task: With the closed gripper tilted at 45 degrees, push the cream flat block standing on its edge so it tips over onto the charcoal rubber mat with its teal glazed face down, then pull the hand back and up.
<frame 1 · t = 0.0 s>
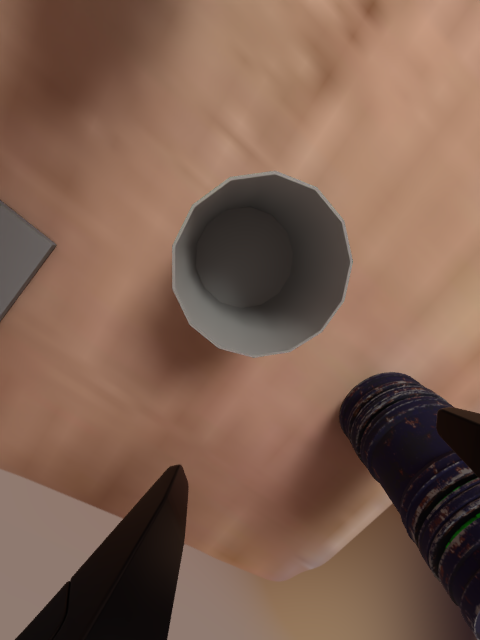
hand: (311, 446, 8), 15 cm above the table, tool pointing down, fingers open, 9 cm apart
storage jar: (380, 409, 27), on the table
cup: (244, 259, 21), on the table
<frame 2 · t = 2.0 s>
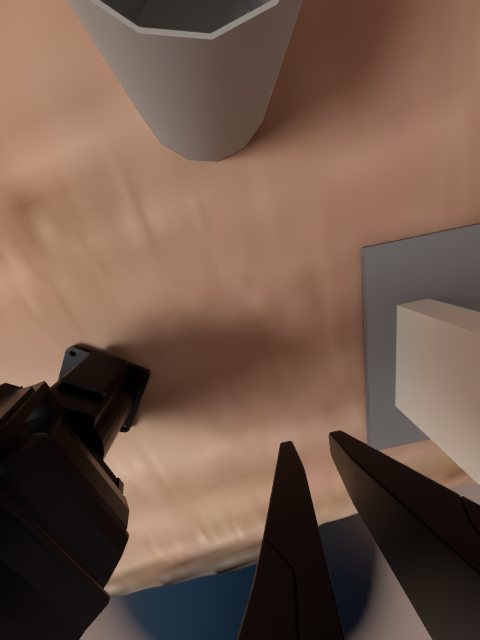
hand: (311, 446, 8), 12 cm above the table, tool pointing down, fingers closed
cream flat block: (412, 355, 21), resting on mat
mat: (473, 339, 21), on the table
cup: (202, 84, 15), on the table
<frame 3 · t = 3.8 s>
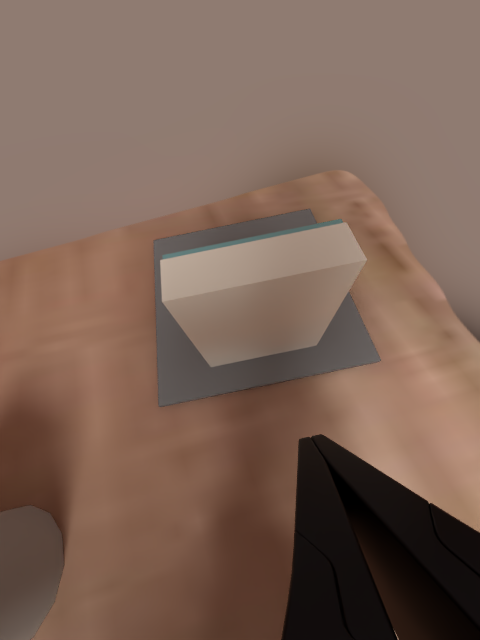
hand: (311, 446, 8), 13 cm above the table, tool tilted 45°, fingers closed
cream flat block: (260, 341, 23), resting on mat
mat: (248, 292, 26), on the table
cup: (8, 576, 17), on the table
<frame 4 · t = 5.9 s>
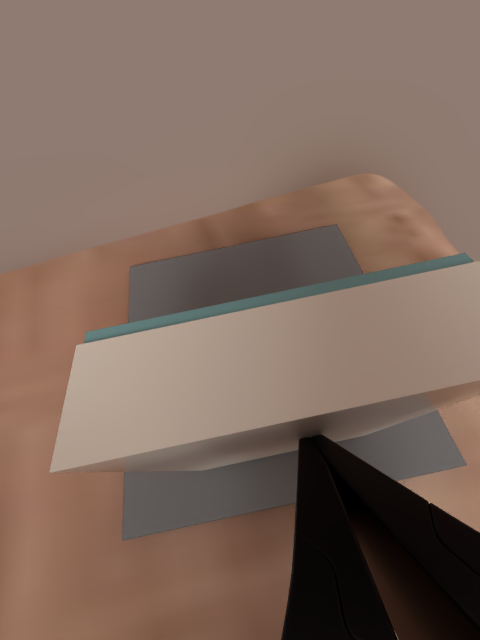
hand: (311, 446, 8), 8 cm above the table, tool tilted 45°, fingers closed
cream flat block: (277, 426, 15), point 1 cm above the table, tilted 5°, touching mat
mat: (257, 344, 19), on the table
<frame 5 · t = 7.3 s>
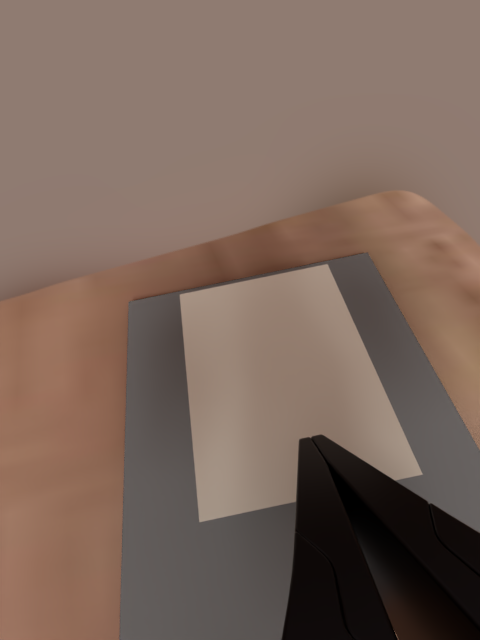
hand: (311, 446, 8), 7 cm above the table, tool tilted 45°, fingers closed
cream flat block: (305, 491, 12), point 2 cm above the table, tilted 90°, touching mat
mat: (279, 403, 16), on the table
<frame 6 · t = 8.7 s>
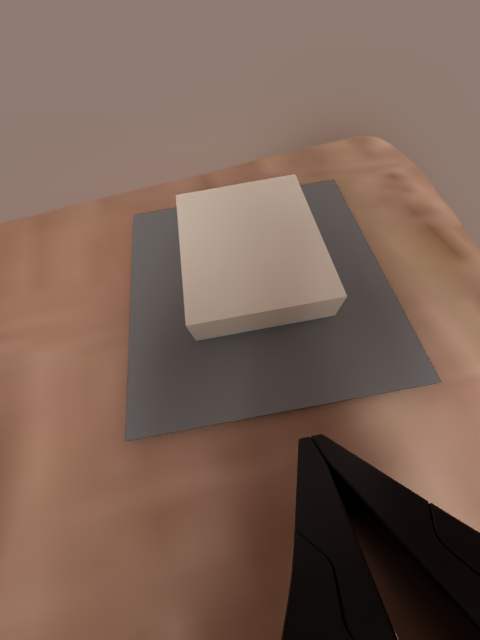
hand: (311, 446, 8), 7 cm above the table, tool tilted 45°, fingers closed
cream flat block: (266, 321, 16), point 2 cm above the table, tilted 90°, touching mat
mat: (253, 283, 20), on the table
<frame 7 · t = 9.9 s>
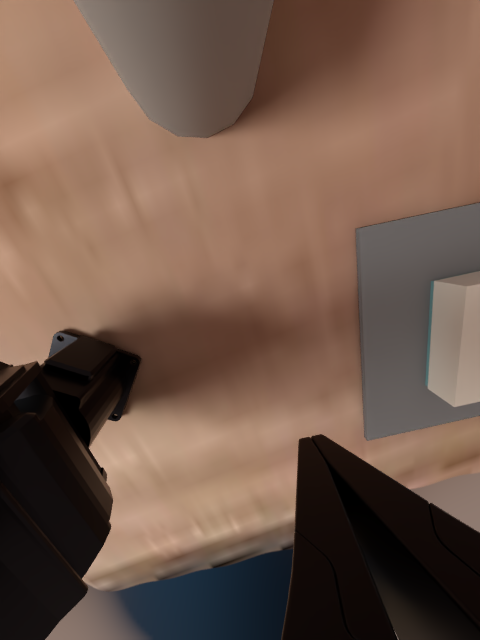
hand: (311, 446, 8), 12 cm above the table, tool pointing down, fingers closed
cream flat block: (442, 344, 19), point 2 cm above the table, tilted 90°, touching mat
mat: (471, 324, 21), on the table
cup: (190, 56, 14), on the table
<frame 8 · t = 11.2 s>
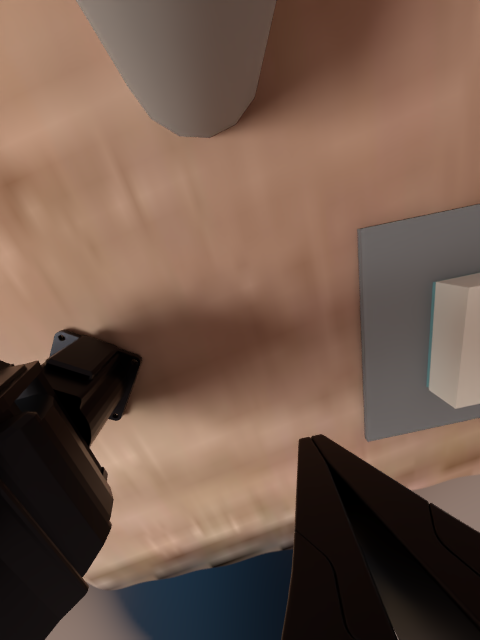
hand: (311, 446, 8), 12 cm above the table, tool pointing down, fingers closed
cream flat block: (443, 345, 19), point 2 cm above the table, tilted 90°, touching mat
mat: (472, 325, 21), on the table
cup: (192, 56, 14), on the table
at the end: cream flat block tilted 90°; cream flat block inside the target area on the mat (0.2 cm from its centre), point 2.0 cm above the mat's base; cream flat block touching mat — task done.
